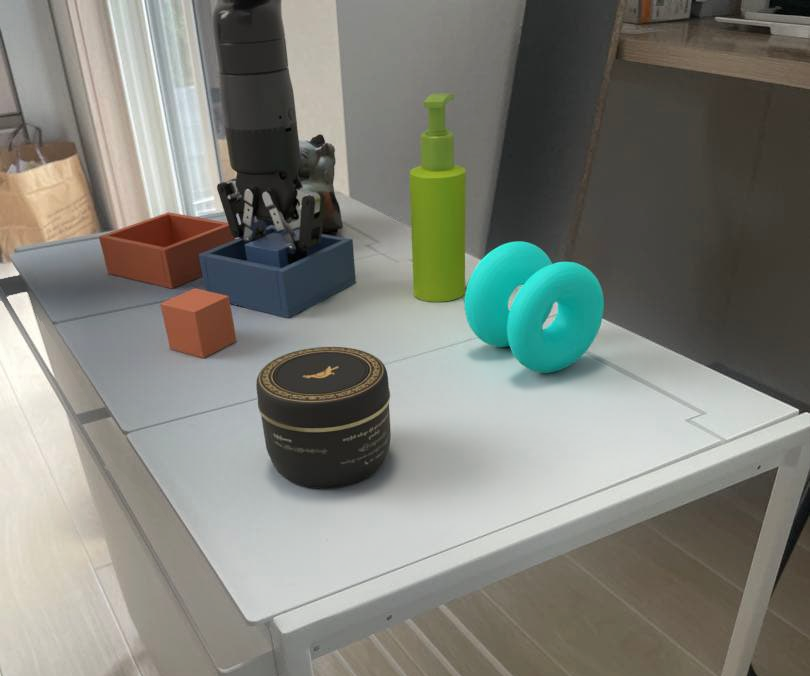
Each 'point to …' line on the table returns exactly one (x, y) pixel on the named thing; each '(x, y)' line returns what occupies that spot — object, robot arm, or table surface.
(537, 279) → the donuts
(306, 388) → the jar
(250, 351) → the table surface
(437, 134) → the soap dispenser
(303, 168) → the lucky cat figurine
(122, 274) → the terracotta bin
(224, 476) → the table surface
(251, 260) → the blue block
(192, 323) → the terracotta block
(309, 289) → the blue bin
